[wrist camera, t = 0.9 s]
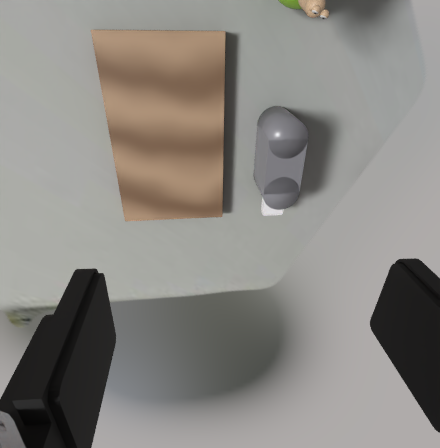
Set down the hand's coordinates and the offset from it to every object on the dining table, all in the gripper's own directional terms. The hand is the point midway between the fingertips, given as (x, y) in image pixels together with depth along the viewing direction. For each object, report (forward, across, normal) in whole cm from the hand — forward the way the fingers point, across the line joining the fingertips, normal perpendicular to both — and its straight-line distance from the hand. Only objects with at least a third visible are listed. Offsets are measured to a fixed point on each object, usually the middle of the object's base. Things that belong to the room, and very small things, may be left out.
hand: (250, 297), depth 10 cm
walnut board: (+28, +4, +2) cm, 28 cm away
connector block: (+28, -8, +4) cm, 30 cm away
